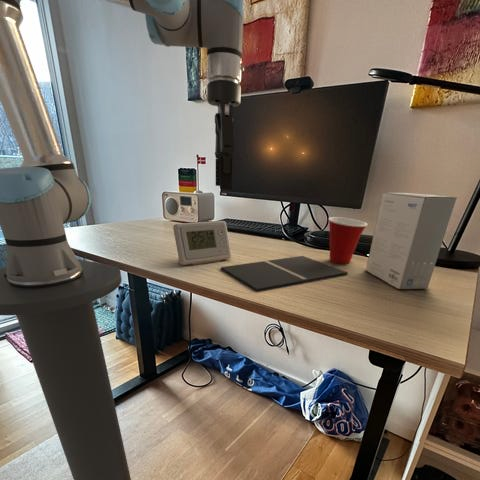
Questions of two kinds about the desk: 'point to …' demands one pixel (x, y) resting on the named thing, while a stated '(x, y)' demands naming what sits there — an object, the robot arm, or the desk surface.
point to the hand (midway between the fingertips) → (222, 187)
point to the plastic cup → (344, 238)
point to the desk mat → (281, 272)
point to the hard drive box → (408, 238)
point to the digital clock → (202, 242)
